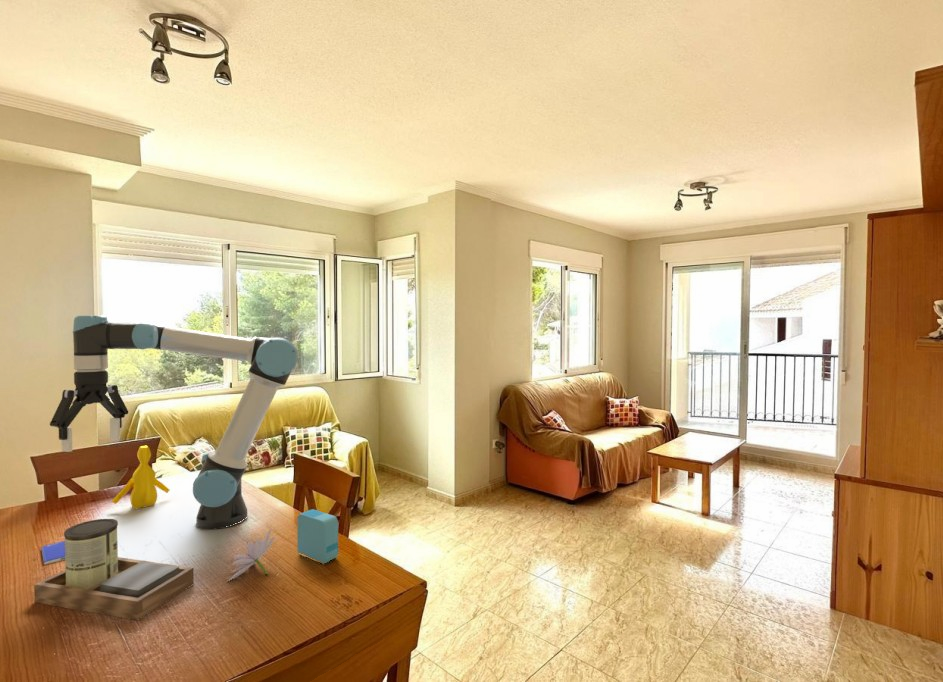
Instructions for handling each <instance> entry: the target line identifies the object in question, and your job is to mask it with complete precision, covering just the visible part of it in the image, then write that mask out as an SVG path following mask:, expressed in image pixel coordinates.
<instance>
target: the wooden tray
mask: <svg viewBox="0 0 943 682" xmlns="http://www.w3.org/2000/svg"><path fill="white" fill-rule="evenodd" d="M194 571H195V570H194V567H190V566H183V565H176V564H169V563H162V562H155V561H147V560H141V559H134V558H128V557H120V556H118V574H117V575H115V576H113V577H111V578H109V579H107V580H105V581H103V582H101V583H99V584H97V585H95V586H94V587H92V588H90V589H88V590H87V589H81V588H75V587H69V586H66V569H65V570H62V571H61V572H59V573H56V574H54V575H52V576H50V577H47V578H45V579H43V580H41V581H39V582H37V583H35V584H33V585H34V586H33V587H34V588H33V589H34V603H37V604H42V605H48V606H54V607H60V608H63V609H64V608H65V609H72V610H76V611H81V610H82V611H81V612H86V613H87V612H89V613H92V612H94V613H93V614H98V613H100V614H99V615H104V614H106V615H105V616H109V615H110V617H116V618H121V617H122V619H126V618H130V619H129V620H132V619H136V620H135V621H137V620H138V619H139V620H141V619H142V618H144V617H145V616H144V615H146V614H147V613H149V612H150V613H151V611H152V610H153V611H155V610H157V609H158V608H160V607H161V606H163V605H164V604H166V603H167V602H169V601H171V600H172V599H173V598H174V596H175V597H176V595H177V596H178V595H180V594H182V593H183V592H185V591H186V590H187V589H189V588H190V587H189V586H191V585H192V584H194V582H195V581H194V580H195V579H194V576H195V575H194ZM194 585H195V584H194ZM192 586H193V585H192ZM192 586H191V587H192ZM188 587H189V588H188ZM186 588H187V589H186ZM185 589H186V590H185ZM182 591H183V592H182ZM179 593H180V594H179ZM171 598H172V599H171ZM168 600H169V601H168ZM166 601H167V602H166ZM165 602H166V603H165ZM163 603H164V604H163ZM162 604H163V605H162ZM160 605H161V606H160ZM159 606H160V607H159ZM157 607H158V608H157ZM154 609H155V610H154ZM153 611H152V612H153ZM150 613H149V614H150ZM147 615H148V614H147ZM147 615H146V616H147ZM143 616H144V617H143ZM141 617H142V618H141ZM140 618H141V619H140ZM139 620H138V621H139Z"/></svg>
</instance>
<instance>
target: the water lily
mask: <svg viewBox="0 0 943 682" xmlns="http://www.w3.org/2000/svg"><path fill="white" fill-rule="evenodd" d="M271 532H272V529H269V530H268V532H267V533H266V534H265V535H264V537H263V540H262V537H261V536H260V537H259V538H258V539H257V540H256V541H255V543H254V542H253V541H252V540H249V541H248V543H247V545H246V552H247V553H245V554H244V553H243V554H242V553H240V554H239V553H238V554H236V555H233V558H234V560H233V561H232V563H231V565H232V566H239V567H237V568H235V569H234V570H232V571H230V574H233V575H232V576H231V577H230V578H229V579H228V580H227V581H229V582H230V580H231V581H232V579H233V580H234V579H236V578H238V577H240V576H241V575H243V573H245V572H246V571H247V570H249V569H250V567H252V566H254V565H256V564H257V565H258V567H260V569H261V570H262V572H263V573H264V575H265V574H267V575H268V574H269V572H268V570H266V568H265V567H264V566H263V565H262V564H261V562H260V561H259V559H260V558H261V557H262V556H263V555H265V553H266V552H267V551H268V549H269V548H270V547H271V545H272V543H273V541H274V540H275V538H276V536H273V537H271V539H270V536H271ZM235 559H236V560H235Z"/></svg>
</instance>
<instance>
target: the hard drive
mask: <svg viewBox="0 0 943 682" xmlns="http://www.w3.org/2000/svg"><path fill="white" fill-rule="evenodd" d="M41 554H42V559H43V565H49V564H54V563H57V562H61V561H65V540H63V541H59V542H54V543H51V544H46V545H43V546H41Z"/></svg>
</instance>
